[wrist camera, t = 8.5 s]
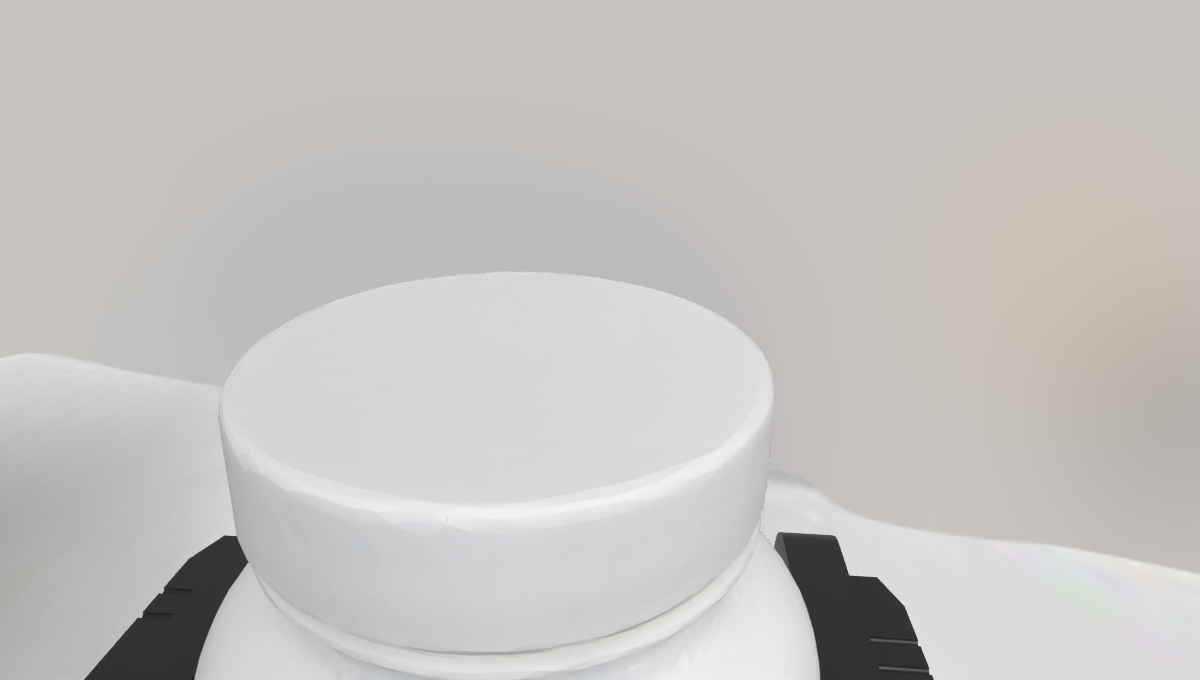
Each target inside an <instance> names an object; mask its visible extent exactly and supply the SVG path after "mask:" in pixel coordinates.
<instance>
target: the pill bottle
mask: <svg viewBox="0 0 1200 680" xmlns="http://www.w3.org/2000/svg"><path fill="white" fill-rule="evenodd" d="M773 409H774V389H773V381H772V374H771V371H770V368H769V365H768V363H767V360H766V358H765V357H764V355H763V354H762V352H761V351H760V350H759V348H758V346H757V345H756V344H755V343H754V342H753V341H752V340H751V339H750V338H749V337H748V336H747V335H746V334H744V333H743V332H742V331H741V330H740V329H739V328H737V327H736V326H735V325H733V324H732V323H731V322H729V321H728V320H726V319H724V318H723V317H721V316H720V315H718V314H716V313H714V312H712V311H710V310H708V309H706V308H704V307H702V306H700V305H698V304H695V303H693V302H691V301H688V300H686V299H683V298H680V297H677V296H674V295H671V294H669V293H666V292H663V291H659V290H655V289H651V288H647V287H643V286H639V285H635V284H631V283H625V282H620V281H614V280H608V279H602V278H596V277H589V276H581V275H572V274H561V273H545V272H488V273H473V274H462V275H451V276H442V277H435V278H427V279H419V280H414V281H408V282H403V283H398V284H392V285H387V286H383V287H379V288H375V289H371V290H367V291H364V292H360V293H357V294H354V295H350V296H347V297H344V298H341V299H338V300H335V301H332V302H329V303H327V304H324V305H322V306H320V307H317V308H315V309H312V310H310V311H308V312H306V313H304V314H301V315H299V316H297V317H296V318H293V319H292V320H290V321H288V322H287V323H285V324H283V325H282V326H280V327H278V328H277V329H275V330H273V331H271V332H270V333H269V334H267V335H266V336H264V337H263V338H262V339H261V340H259V341H258V342H256V343H255V344H254V345H253V346H252V347H251V348H250V349H249V350H248V351H247V352H246V353H245V354H244V356H243V357H242V358H241V360H240V361H239V362H238V363H237V364H236V366H235V367H234V368H233V370H232V372H231V373H230V375H229V377H228V379H227V380H226V382H225V385H224V388H223V391H222V395H221V400H220V408H219V417H218V420H219V426H220V432H221V439H222V445H223V451H224V458H225V464H226V470H227V477H228V483H229V489H230V495H231V501H232V507H233V514H234V520H235V526H236V532H237V538H238V541H239V543H240V545H241V547H242V550H243V552H244V554H245V556H246V558H247V560H248V562H249V563H248V564H247V565H246V566H245V568H244V569H243V571H242V572H241V574H240V575H239V576H238V578H237V579H236V581H235V582H234V584H233V585H232V586H231V588H230V589H229V591H228V593H227V595H226V596H225V598H224V600H223V602H222V604H221V606H220V608H219V610H218V612H217V614H216V616H215V618H214V620H213V623H212V625H211V628H210V630H209V633H208V635H207V638H206V640H205V643H204V646H203V649H202V652H201V655H200V658H199V662H198V666H197V670H196V674H195V678H194V680H820V669H819V659H818V653H817V647H816V641H815V637H814V632H813V628H812V624H811V621H810V617H809V614H808V611H807V608H806V605H805V603H804V600H803V597H802V595H801V592H800V590H799V588H798V586H797V584H796V583H795V581H794V579H793V577H792V575H791V574H790V572H789V570H788V568H787V567H786V565H785V563H784V561H783V560H782V558H781V556H780V555H779V554H778V552H777V551H776V550H775V549H774V547H773V546H772V545H771V543H770V542H769V541H768V539H767V538H766V537H765V535H764V534H763V533H762V532H761V531H760V523H761V513H762V510H763V505H764V499H765V494H766V489H767V472H768V465H769V457H770V447H771V435H772V423H773V411H774V410H773Z"/></svg>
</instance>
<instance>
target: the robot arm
mask: <svg viewBox="0 0 1200 680" xmlns="http://www.w3.org/2000/svg"><path fill="white" fill-rule="evenodd" d="M774 549H775V550H776V551H777V552H778V554H779V555H780V556H781V558H782V560H783V561H784V563H785V565H786V567H787V568H788V570H789V572H790V574H791V575H792V577H793V579H794V581H795V583H796V584H797V586H798V588H799V590H800V592H801V595H802V597H803V600H804V603H805V605H806V608H807V611H808V614H809V617H810V621H811V624H812V628H813V632H814V637H815V641H816V647H817V653H818V659H819V669H820V680H934V679H933V677H932V675H929V667H928V664H927V662H926V659H925V657H924V654H923V652H922V649H921V647H920V646H918V639H917V637H916V634H915V631H914V629H913V626H912V624H911V621H910V619H909V616H908V614H907V611H906V609H905V607H904V605H903V604H902V603H901V602H900V601H899V600H898V599H897V598H896V597H895V596H894V595H893V594H892V593H891V592H890V591H889V590H888V589H887V587H886V586H885V585H884V584H883V583H882V582H881V581H880V580H879V579H878V578H877V577H863V576H849V574H848V570H847V567H846V564H845V561H844V558H843V555H842V552H841V549H840V546H839V543H838V540H837V538H836V537H835V536H833V535H817V534H800V533H783V532H779V533H778V534H777V537H776V541H775V547H774ZM248 563H249V562H248V560H247V558H246V556H245V554H244V552H243V550H242V547H241V545H240V543H239V541H238V538H237V536H223V537H222V538H220V539H219V540H217V541H216V542H214V543H212V544H211V545H209V546H208V547H206V548H205V549H203V550H202V551H200V552H199V553H197V554H196V555H194V556H193V557H191V558H190V559H188V561H187V562H186V563H185V564H184V565H183V566H182V568H181V569H180V570H179V571H178V572H177V573H176V574H175V576H174V577H173V578H172V579H171V580H170V581H169V582H168V584H167V585H166V586H165V587H164V592H163V594H160V593H159V594H158V595H157V596H156V597H155V599H154V600H153V601H152V602H151V603H150V604H149V606H148V607H147V608H146V609H145V610H144V611H143V616H142V618H137V619H136V620H135V622H134V623H133V624H132V625H131V626H130V627H129V629H128V630H127V631H126V632H125V633H124V634H123V635H122V637H121V638H120V639H119V640H118V641H117V642H116V644H115V645H114V646H113V647H112V648H111V649H110V650H109V652H108V653H107V654H106V655H105V656H104V657H103V659H102V660H101V661H100V662H99V663H98V664H97V665H96V667H95V668H94V669H93V670H92V671H91V672H90V673H89V675H88V676H87V677H86V678H85V679H84V680H194V678H195V674H196V670H197V666H198V662H199V658H200V655H201V652H202V649H203V646H204V643H205V640H206V638H207V635H208V633H209V630H210V628H211V625H212V623H213V620H214V618H215V616H216V614H217V612H218V610H219V608H220V606H221V604H222V602H223V600H224V598H225V596H226V595H227V593H228V591H229V589H230V588H231V586H232V585H233V584H234V582H235V581H236V579H237V578H238V576H239V575H240V574H241V572H242V571H243V569H244V568H245V566H246V565H247V564H248Z"/></svg>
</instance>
